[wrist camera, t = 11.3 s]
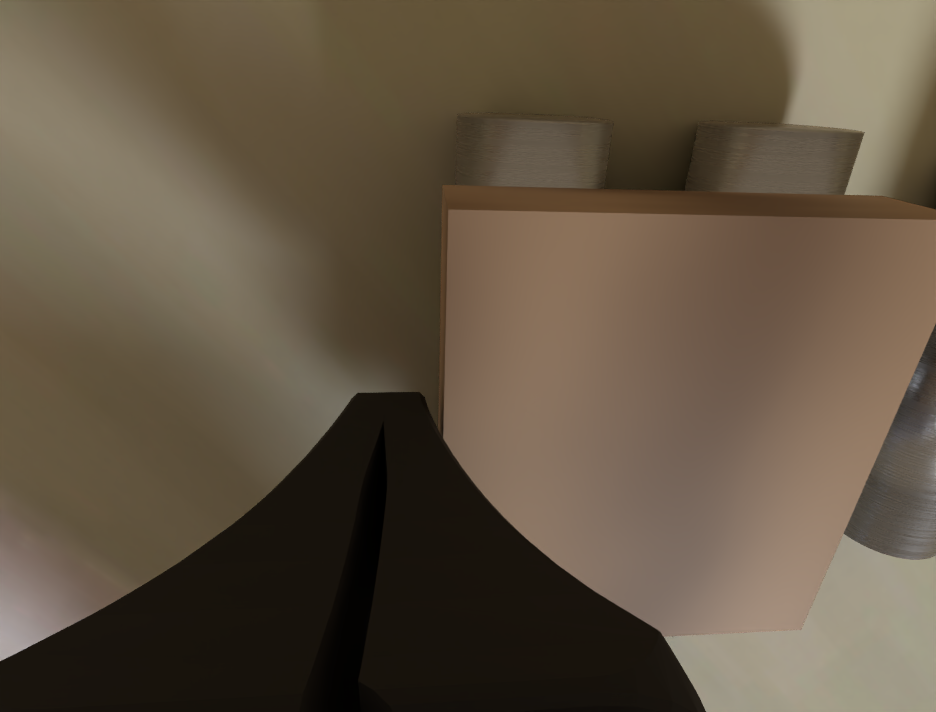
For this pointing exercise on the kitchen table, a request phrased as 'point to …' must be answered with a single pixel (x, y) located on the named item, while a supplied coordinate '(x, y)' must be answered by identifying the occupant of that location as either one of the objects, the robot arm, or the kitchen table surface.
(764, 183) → the middle roller
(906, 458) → the roller
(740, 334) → the slab
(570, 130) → the cylinder
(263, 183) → the kitchen table surface
